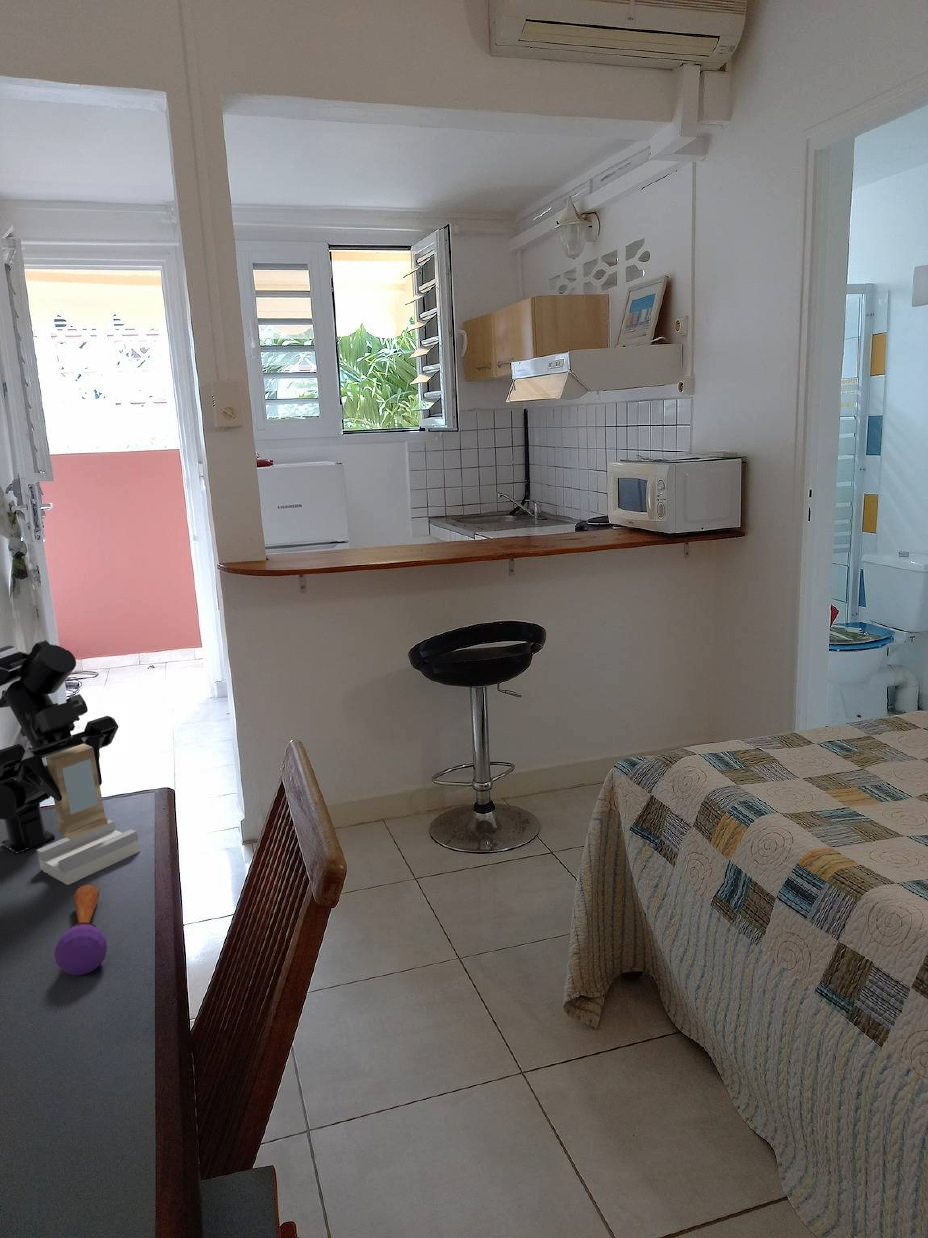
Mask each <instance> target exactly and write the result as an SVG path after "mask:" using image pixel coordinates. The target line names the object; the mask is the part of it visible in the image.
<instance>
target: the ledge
mask: <svg viewBox="0 0 928 1238" xmlns="http://www.w3.org/2000/svg"><path fill="white" fill-rule="evenodd" d="M107 821H108V825H106V826H104V827H102V828H99V829H97V830H94V831H92V832H90V833H87V834H85V835H82V836H80V837H78V838H75V839H73V840H70V839H68V838H66V837H64V838H63V837H62V839H61V838H60V839H58V840H57V841H55V842H52V843H48V844H47V845H45V846H42V847H40V848H38V849H36V853H37V857H38V861H39V863H38V864H39V866H40V867H39V868H40V870H41V869H42V870H43V871H42V870H41V871H42V872H44V873H46V874H47V873H48V874H47V875H49V876H50V877H52V878H53V879H56V880H58V881H60V882H61V883H62V884H64V885H66V886H68V885H72V884H73V883H76V882H78V881H80V880H82V879H84V878H86V877H89V876H90V875H92V874H95V873H97V872H99V871H101V870H103V869H104V870H105V869H106V868H108V867H110V866H112V865H115V864H116V863H118V862H121V861H123V860H124V859H127V858H130V857H132V856H134V855H136V854H138V853H140V852H141V849H140V844H139V839H138V832H137V830H133V829H131V828H130V829H129V830H126V831H124V832H121V831H119V830H116V827H115V826H116V825H115V822H114V820H112V819H110V818H107Z"/></svg>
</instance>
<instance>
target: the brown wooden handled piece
mask: <svg viewBox="0 0 928 1238" xmlns="http://www.w3.org/2000/svg"><path fill="white" fill-rule="evenodd" d="M73 894H74V895H73V901H74V902H73V903H74V906H75V912H76V917H77V923H75V924H74V925H72V926H70V927H69V929H67V930H65V931H64V932H63V933H62V934H61V935H60V937H59V938H58V940H57V942H56V945H55V946H56V947H55V950H54V958H55V962H56V965H57V966H58V967H59V968H60V969H61V971H62V972H65V973H67V974H68V975H71V976H83V975H86V974H89V973H91V972H93V971H94V970H95V969H98V967H100V966H101V965H102V962H103V961H104V960H105V958H106V955H107V951H108V942H107V937H106V935H105V934H104V933H103V931H102V930H101V929H100V928H98V927H97V925H95V924H93V923H91V920H92V917H93V914H94V912H95V909H96V907H97V904H98V901H99V897H100V893H99V890H98V888H97V887H96V886H94V885H91V884H86V885H82V886H80V887H79V888H77V889H76V891H75V892H74V893H73Z"/></svg>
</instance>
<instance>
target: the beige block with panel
mask: <svg viewBox="0 0 928 1238" xmlns="http://www.w3.org/2000/svg"><path fill="white" fill-rule="evenodd" d="M45 760H46V765H47V766H48V771H49V775H50V776H51V778H52V779H53V781H54V783H55V784H56V786H57V787H58V789H59V791H60V793H61V795H62V800H61V801H57V800H56V799H54V798H53V803H54V806H55V807H54V808H55V812H56V817H57V822H58V826H57V831H58V834H59V835H62V836H63V837H64V838H68V839H70V840H73V839H75V838H78V837H80V836H82V835H85V834H87V833H90V832H92V831H94V830H97V829H99V828H102V827H104V826H106V825H108V821H107V820H108V817H106V815H105V809H104V807H105V806H104V803H103V797H102V791H101V786H100V784H99V778H98V773H97V767H96V761H95V755H94V750H93V747H91V746H89V745H86V744H81V745H78V746H75V747H72V748H69V749H66V750H63V751H60V752H57V753H54V754H51V755H48V756H46V757H45Z"/></svg>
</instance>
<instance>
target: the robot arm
mask: <svg viewBox="0 0 928 1238" xmlns="http://www.w3.org/2000/svg"><path fill="white" fill-rule="evenodd" d="M76 667H77V660H76V657H75V656H74V654H73V653H72V651H70V650H69V649H68V650H67V649H66V648H64V647H62V646H59V645H56V644H50V643H49V641H47V640H46V639H44V640H40V641H37V642H35V644H34V645H33V646H32V648H31V651H30V652H29V653H27V652H23V651H19V650H18V648H17V647H16V646H14V645H6V646H3V647H1V648H0V687H2V686H6V685H7V684H9V686H8V687H7V688H6V690H2V692H1V696H0V708H1V709H2V708H10V710H11V711H12V713H13V715H14V716H15V718H16V721H17V722H18V724H19V726H20V731H19V733H20V734H21V736H22V737H26V738H27V740H28V742H29V744H30V745H31V747H27V748H24V746H23V745H22V744H20V743H18V744H13V745H10V746H8V747H5V748H2V749H0V820H3V823H4V827H5V831H6V835H7V839H5V840H3V841H1V842H0V844H4V845H5V846H7V847H8V848H11V849H12V850H14V851H15V852H20V851H22V850H25V849H26V848H30V847H32V848H34V847H33V846H35V845H37V846H39V845H38V844H40V845H42V844H44V843H46V841H47V842H48V840H49V841H51V840H53V839H54V840H55V838H56V835H55V834H54V833H52V832H50V831H48V830H46V828H45V827H46V825H45V821H44V818H43V817H44V816H43V813H42V809H41V803H42V802H44V801H46V800H48V799H50V798H52V799H53V800H54V799H56V800H57V801H61V800H62V795H61V793H60V791H59V789H58V787H57V786H56V784H55V783H54V781H53V779H52V778H51V776H50V775H49V771H48V766H47V764H46V763H44V761H43V758H44V759H45V758H46V756H48V755H51V754H54V753H57V752H60V751H63V750H66V749H69V748H72V747H75V746H78V745H81V744H86V745H89V746H91V747H93V750H94V755H95V761H96V767H97V773H98V778H99V784H100V787H101V785H102V784H103V779H102V771H101V765H100V758H99V757H100V755H99V753H100V750H101V749H102V748H105V747H108V746H109V745H110V744H112V742H113V740H114V738H115V736H116V734H117V731H118V730H119V728H120V727H119V724H118V723H117V721H116V720H115V718H113V717H112V716H109V715H105V716H101V717H99V718H95V719H92V720H89V721H87V723H86V725H85V727H84V729H83V731H81V732H78V733H74V734H72V733H71V732H73V731H75V728H76V726H75V722H79V721H80V716H83V715H84V714H86V713H87V712H88V709H89V708H88V706H87V702H86V701H85V699H84V697H83V696H82V695H81V694H80V693H78V694H74V695H72V696H71V695H70V696H69V697H68V698H66V699H65V702H63V703H61V704H59V703H58V702H55V703H53V702H54V701H53V700H52V699H51V697H50V695H52V694H55V693H56V692H57V691H58V690H59V689H60V688H61V686H62V685H63V684H64V682H65V681H66V680H67V679H68V677H69V676H70V675H71V674H72V672H73V671H74V670H75V669H76ZM10 683H11V684H10ZM35 847H36V846H35ZM8 848H7V849H8ZM30 849H31V848H30ZM25 851H26V850H25ZM15 852H14V853H15ZM20 853H21V852H20Z"/></svg>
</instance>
